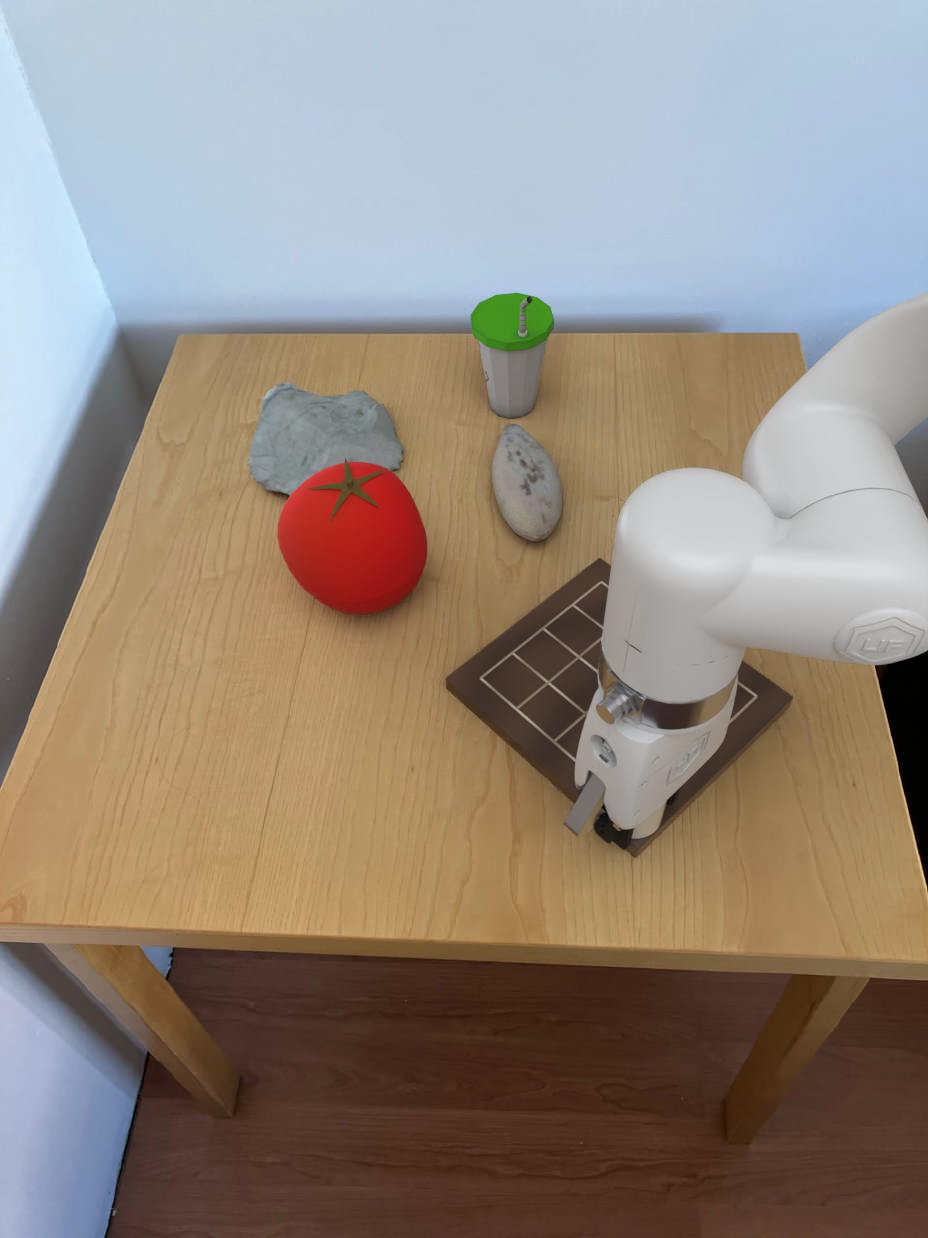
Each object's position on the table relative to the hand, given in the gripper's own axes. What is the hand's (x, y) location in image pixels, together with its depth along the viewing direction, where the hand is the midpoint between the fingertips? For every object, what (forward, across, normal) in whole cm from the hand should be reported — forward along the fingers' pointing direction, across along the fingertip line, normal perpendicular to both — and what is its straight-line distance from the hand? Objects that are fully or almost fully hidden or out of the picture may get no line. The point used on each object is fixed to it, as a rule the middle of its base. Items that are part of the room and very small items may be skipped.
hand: (633, 810), depth 68 cm
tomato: (+2, 0, +31) cm, 31 cm away
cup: (+2, +26, +39) cm, 47 cm away
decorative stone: (+2, +18, +29) cm, 34 cm away
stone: (+2, +8, +47) cm, 48 cm away
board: (+2, +7, +8) cm, 11 cm away
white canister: (0, 0, 0) cm, 0 cm away
